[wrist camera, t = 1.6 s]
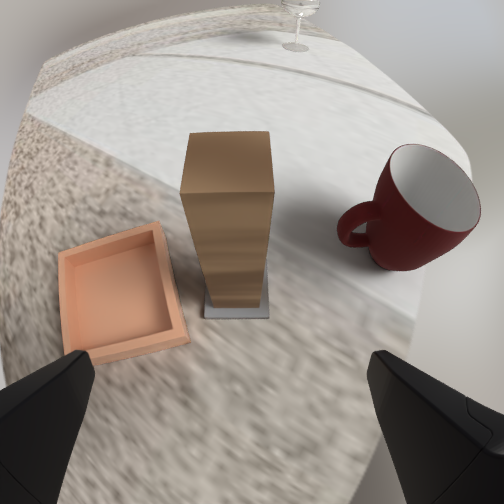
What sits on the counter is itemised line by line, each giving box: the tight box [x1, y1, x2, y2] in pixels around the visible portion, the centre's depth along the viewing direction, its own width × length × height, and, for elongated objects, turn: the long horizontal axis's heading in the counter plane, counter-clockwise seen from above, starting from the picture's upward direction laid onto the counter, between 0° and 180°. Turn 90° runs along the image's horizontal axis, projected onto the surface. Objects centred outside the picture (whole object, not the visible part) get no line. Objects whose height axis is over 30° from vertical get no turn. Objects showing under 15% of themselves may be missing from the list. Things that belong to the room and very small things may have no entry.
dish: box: [58, 221, 191, 366], centre depth 23 cm, size 10×10×2 cm
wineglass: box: [281, 0, 320, 52], centre depth 41 cm, size 7×7×12 cm
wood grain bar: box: [180, 131, 275, 319], centre depth 18 cm, size 5×5×14 cm
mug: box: [337, 144, 481, 271], centre depth 22 cm, size 11×8×10 cm
